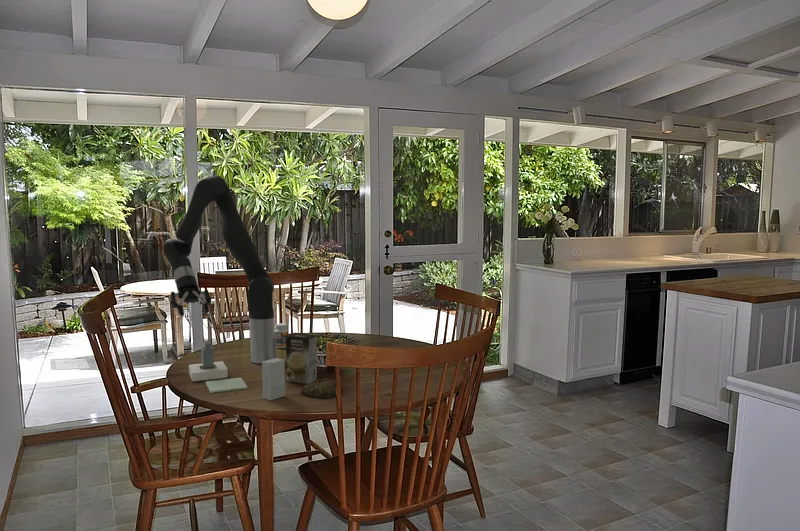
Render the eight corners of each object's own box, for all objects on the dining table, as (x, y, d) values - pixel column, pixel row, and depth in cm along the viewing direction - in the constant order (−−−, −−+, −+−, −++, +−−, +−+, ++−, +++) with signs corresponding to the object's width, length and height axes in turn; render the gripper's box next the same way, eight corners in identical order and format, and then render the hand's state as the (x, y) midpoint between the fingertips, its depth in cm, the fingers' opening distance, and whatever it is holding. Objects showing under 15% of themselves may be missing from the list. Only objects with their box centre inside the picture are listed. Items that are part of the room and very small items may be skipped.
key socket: (223, 369, 227) (222, 361, 226) (227, 377, 216) (227, 369, 216) (189, 372, 222) (188, 364, 222) (192, 381, 211) (192, 373, 211)
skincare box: (277, 393, 197) (276, 357, 196) (286, 396, 194) (285, 359, 193) (261, 398, 193) (260, 360, 191) (270, 401, 190) (269, 363, 189)
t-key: (212, 372, 222) (211, 340, 221) (214, 376, 217) (213, 343, 216) (202, 374, 220) (201, 341, 219) (203, 377, 216) (202, 344, 215)
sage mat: (241, 379, 214) (241, 377, 214) (247, 388, 203) (247, 386, 203) (205, 383, 209) (205, 381, 209) (210, 393, 198) (209, 391, 198)
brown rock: (325, 401, 191) (325, 386, 190) (295, 395, 197) (295, 380, 197) (349, 390, 202) (349, 376, 201) (320, 385, 208) (320, 370, 207)
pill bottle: (285, 349, 258) (284, 325, 257) (272, 348, 260) (272, 325, 259) (290, 345, 264) (289, 323, 263) (277, 345, 265) (277, 322, 264)
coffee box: (285, 381, 211) (284, 336, 209) (294, 376, 217) (293, 332, 215) (309, 384, 208) (308, 337, 206) (317, 379, 214) (317, 334, 212)
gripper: (168, 275, 229) (176, 310, 221) (206, 273, 237) (215, 306, 229) (164, 287, 234) (173, 322, 226) (202, 285, 242) (211, 318, 234)
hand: (194, 314), depth 227 cm, fingers open, 8 cm apart
